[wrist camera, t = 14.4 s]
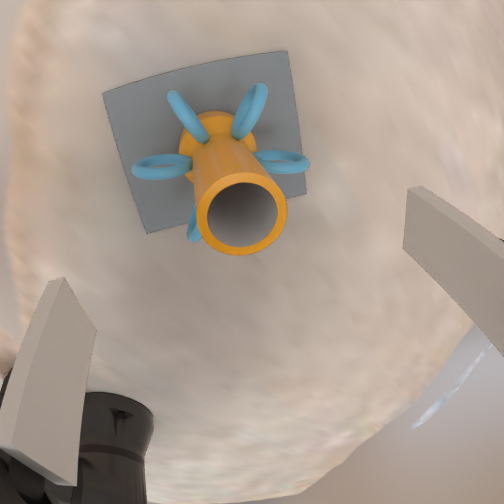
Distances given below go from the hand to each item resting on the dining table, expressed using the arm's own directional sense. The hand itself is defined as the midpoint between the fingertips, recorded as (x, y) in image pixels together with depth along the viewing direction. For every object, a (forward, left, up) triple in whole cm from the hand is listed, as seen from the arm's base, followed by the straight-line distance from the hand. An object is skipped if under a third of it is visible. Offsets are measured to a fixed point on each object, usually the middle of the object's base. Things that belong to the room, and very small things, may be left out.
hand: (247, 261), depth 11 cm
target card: (0, 0, -19) cm, 19 cm away
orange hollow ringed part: (+1, 0, -19) cm, 19 cm away
